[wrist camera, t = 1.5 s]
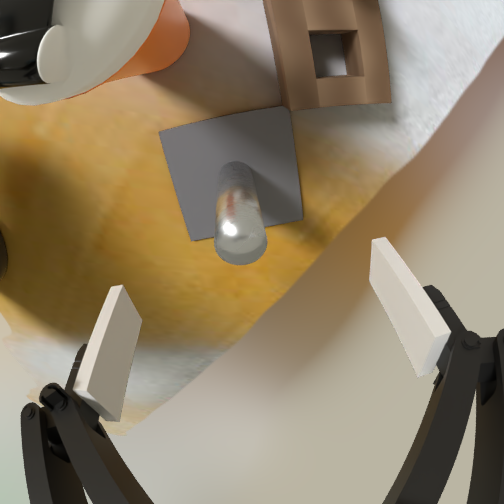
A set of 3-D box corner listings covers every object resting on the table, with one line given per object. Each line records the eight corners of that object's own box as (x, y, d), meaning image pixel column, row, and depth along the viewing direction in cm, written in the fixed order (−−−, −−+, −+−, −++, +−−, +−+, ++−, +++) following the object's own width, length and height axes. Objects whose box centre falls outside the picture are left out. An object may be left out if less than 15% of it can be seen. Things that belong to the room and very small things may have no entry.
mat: (191, 239, 32) (191, 241, 32) (159, 131, 26) (158, 132, 25) (302, 218, 32) (303, 219, 31) (287, 104, 25) (288, 105, 25)
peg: (222, 195, 29) (221, 269, 19) (215, 164, 27) (208, 225, 18) (254, 188, 29) (270, 259, 19) (248, 158, 27) (262, 215, 17)
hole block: (282, 105, 25) (291, 110, 22) (247, -61, 15) (251, -78, 12) (371, 97, 25) (391, 103, 21) (341, -61, 15) (356, -75, 11)
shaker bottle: (204, -9, 18) (162, -138, 2) (198, 80, 23) (128, 95, 7) (108, 2, 17) (-45, -47, 1) (104, 87, 22) (-62, 143, 6)
